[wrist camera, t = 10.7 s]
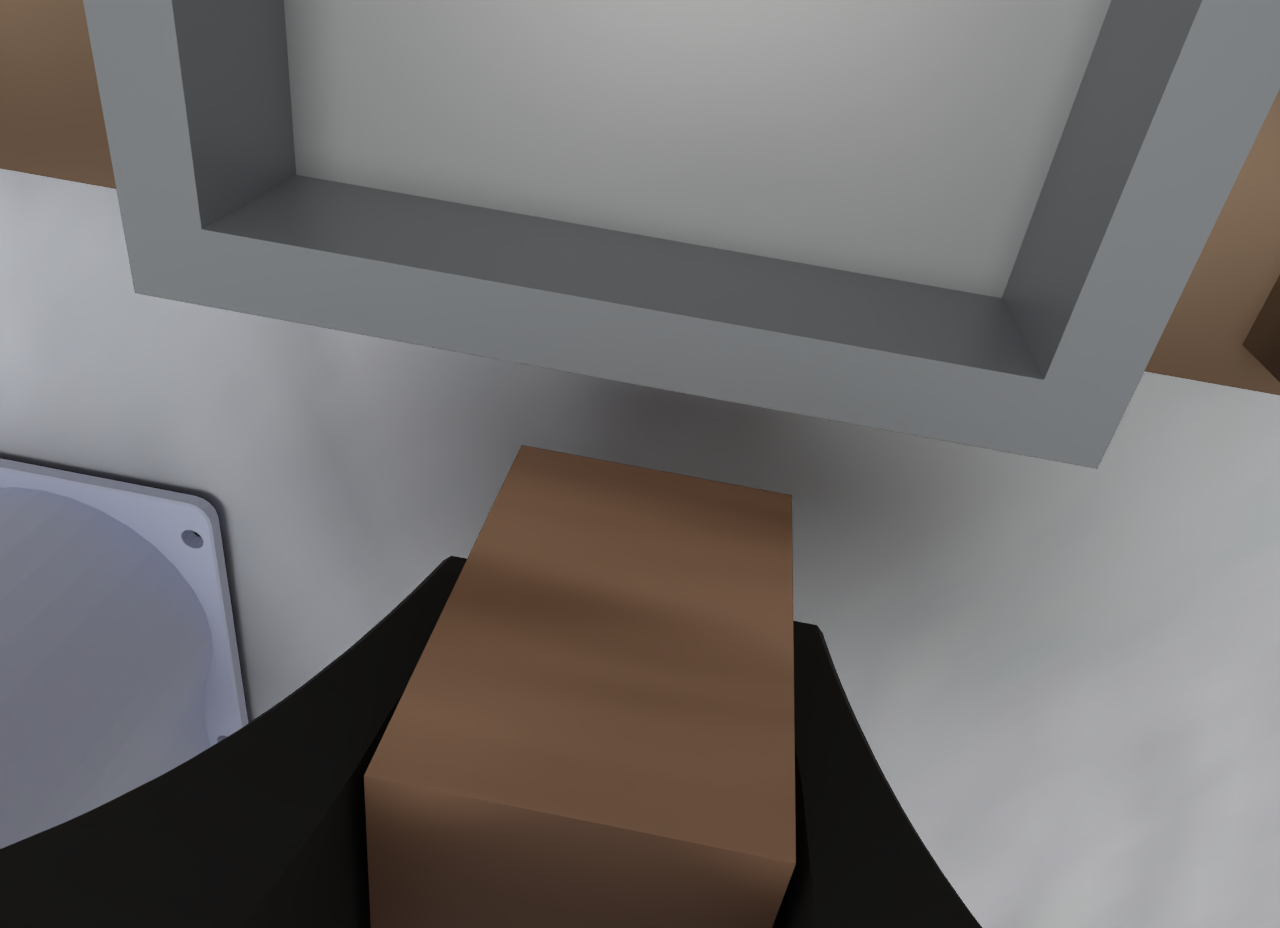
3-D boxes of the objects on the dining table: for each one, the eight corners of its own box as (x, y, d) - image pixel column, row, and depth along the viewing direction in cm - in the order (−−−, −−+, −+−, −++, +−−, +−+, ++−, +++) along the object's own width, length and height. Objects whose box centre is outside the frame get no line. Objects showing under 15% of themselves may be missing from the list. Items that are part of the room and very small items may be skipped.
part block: (739, 689, 15) (716, 1075, 10) (506, 643, 16) (374, 1002, 11) (792, 495, 13) (796, 864, 8) (521, 445, 14) (363, 776, 8)
